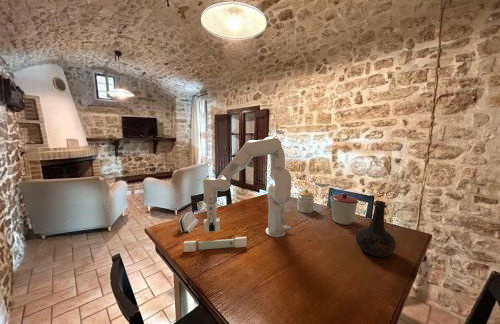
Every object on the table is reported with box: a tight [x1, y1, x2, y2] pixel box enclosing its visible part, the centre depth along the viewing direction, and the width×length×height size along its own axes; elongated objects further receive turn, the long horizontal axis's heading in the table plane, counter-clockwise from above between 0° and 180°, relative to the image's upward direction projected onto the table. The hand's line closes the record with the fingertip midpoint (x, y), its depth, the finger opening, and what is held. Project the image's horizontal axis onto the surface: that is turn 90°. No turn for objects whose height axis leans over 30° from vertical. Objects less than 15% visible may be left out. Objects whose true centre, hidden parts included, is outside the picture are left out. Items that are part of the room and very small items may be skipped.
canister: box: [330, 192, 360, 226], centre depth 142 cm, size 18×18×21 cm
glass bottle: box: [355, 200, 397, 258], centre depth 106 cm, size 18×18×28 cm
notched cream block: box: [183, 236, 248, 253], centre depth 109 cm, size 33×2×5 cm, turn 100°
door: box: [196, 238, 235, 251], centre depth 108 cm, size 20×2×5 cm, turn 100°
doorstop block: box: [203, 217, 221, 234], centre depth 118 cm, size 9×5×6 cm, turn 100°
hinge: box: [178, 211, 199, 234], centre depth 133 cm, size 17×5×10 cm, turn 173°
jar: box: [296, 188, 315, 214], centre depth 163 cm, size 13×13×18 cm
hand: (212, 228), depth 119 cm, fingers closed on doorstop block, 5 cm apart
